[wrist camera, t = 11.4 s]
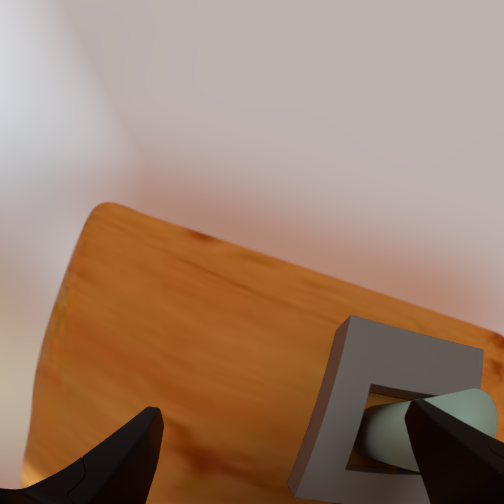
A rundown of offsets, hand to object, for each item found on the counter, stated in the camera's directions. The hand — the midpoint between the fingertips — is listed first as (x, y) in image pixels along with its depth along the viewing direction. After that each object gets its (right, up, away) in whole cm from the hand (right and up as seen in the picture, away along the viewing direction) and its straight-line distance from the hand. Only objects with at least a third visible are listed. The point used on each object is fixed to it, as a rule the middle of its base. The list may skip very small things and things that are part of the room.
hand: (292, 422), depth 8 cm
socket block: (+10, -9, +11) cm, 17 cm away
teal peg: (+9, -9, +10) cm, 17 cm away
